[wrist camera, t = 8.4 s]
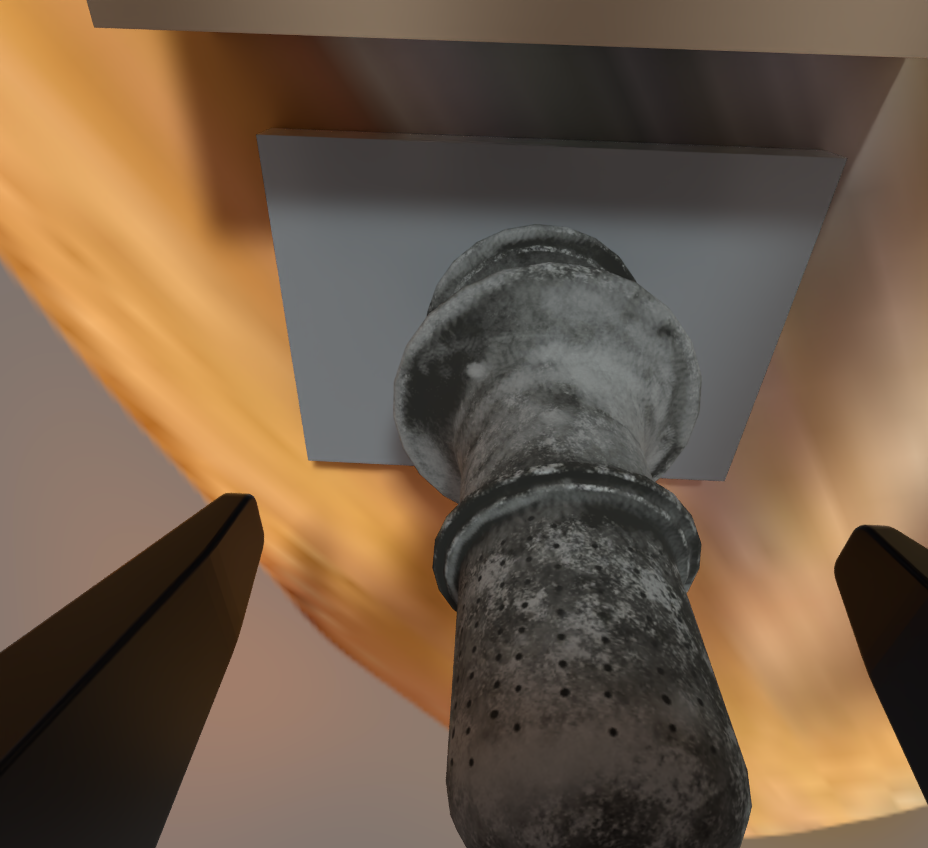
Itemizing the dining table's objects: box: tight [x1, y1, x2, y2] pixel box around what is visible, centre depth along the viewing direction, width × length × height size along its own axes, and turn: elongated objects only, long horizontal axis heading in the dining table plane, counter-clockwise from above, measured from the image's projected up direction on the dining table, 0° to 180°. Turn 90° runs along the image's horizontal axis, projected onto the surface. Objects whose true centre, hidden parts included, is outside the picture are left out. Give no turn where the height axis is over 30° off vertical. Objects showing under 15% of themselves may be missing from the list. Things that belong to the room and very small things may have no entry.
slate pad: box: [256, 128, 847, 481], centre depth 14 cm, size 12×8×1 cm
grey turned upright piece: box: [393, 224, 752, 848], centre depth 9 cm, size 6×6×12 cm
